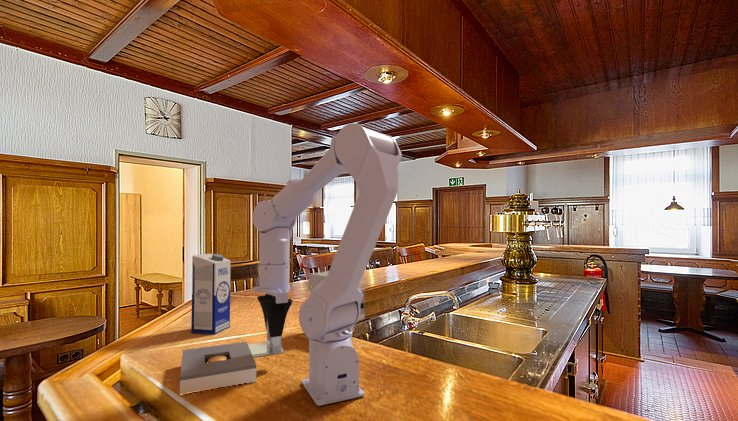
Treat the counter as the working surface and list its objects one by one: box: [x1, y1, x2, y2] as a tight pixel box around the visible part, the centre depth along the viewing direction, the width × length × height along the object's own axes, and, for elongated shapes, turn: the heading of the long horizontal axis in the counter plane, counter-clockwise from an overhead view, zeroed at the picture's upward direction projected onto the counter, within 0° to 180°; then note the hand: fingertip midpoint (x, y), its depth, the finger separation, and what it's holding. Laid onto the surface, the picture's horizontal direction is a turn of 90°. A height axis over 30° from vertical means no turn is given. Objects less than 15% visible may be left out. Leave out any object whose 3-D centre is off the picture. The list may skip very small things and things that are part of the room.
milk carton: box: [190, 253, 232, 335], centre depth 96 cm, size 7×7×20 cm
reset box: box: [179, 341, 257, 395], centre depth 68 cm, size 14×12×3 cm
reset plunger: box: [208, 356, 227, 362], centre depth 68 cm, size 3×3×1 cm
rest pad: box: [248, 341, 284, 358], centre depth 80 cm, size 7×7×1 cm
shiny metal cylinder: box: [266, 322, 283, 355], centre depth 71 cm, size 3×3×9 cm
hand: (274, 333), depth 71 cm, fingers closed on shiny metal cylinder, 3 cm apart
